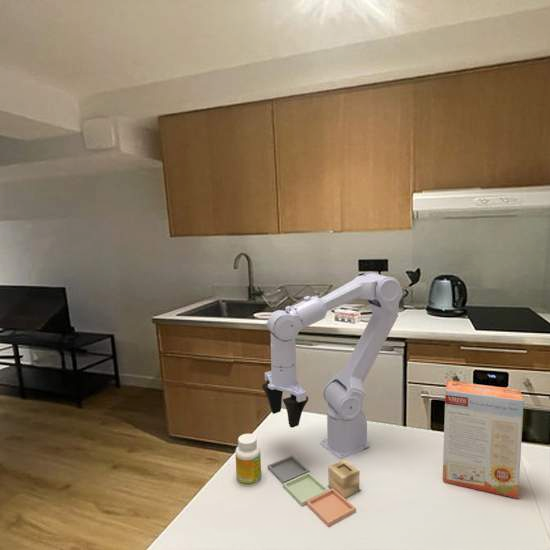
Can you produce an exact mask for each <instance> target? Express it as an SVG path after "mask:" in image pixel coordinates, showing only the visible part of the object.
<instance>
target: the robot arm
mask: <svg viewBox="0 0 550 550" xmlns="http://www.w3.org/2000/svg"><path fill="white" fill-rule="evenodd" d="M403 296H404V291H403V289H402V286H401V283H400V282H399V280H398V279H396V277H392V276H387V275H382V274H378V273H376V272H373V271H367V272H365V273H364V274H362V275H358V276H356V277H355V278H353V280H351V281H349V282H347V283H345V284H343V285H342V286H339V287H338V288H336V289H334V290H332V291H330V292H329V293H327V294H325V295H323V296H322V297H318V296H309V295H306V296H304V297H303V300H302V301H299V302H298V303H296V304H293V305H291V306H290V305H287V306H285V310H284V309H282V310H280V309H279V310H278V309H277V310H275V311H273V312H272V313H271V314H270V316H269V317H268V319H267V322H266V327H267V329H268V331H269V332H270V368H271V369H270V370H269V371H265V372H264V381H266V382H265V383H264V384H262V386H261V388H262V389H263V391H264V392H265V395H266V398H267V400H268V403H269V406H270V410H271V414H273V415H274V414H277V413H281V411H282V402H283V404H284V405H285V409H286V412H287V421H288V425H289V428H291V429H292V428H295V427H298V426H300V425H299V424H300V421H301V416H302V414H303V412H304V411H303V410H304V408H305V406H306V405H307V403H308V401H309V396H307V391H305V390H304V389H303V387H302V386H301V384H300V383H299V381H298V380H297V352H296V351H297V345H296V337H297V336H298V334H299V333H300V332H301V331H302V330H304V329H305V328H308V327H310V326H311V325H314V324H315V323H318V322H320V321H322V320H323V319H325V318H326V316H327V313H328V311H331V310H332V309H336V308H338V307H340V306H343V305H344V304H347V303H351V301H354V300H356V299H360V300H361V299H362V300H365V301H366V302H367V303H368V305H369V308H370V311H371V313H372V316H371V317H370V318H369V320H368V322H367V325H366V327H365V328H364V330H363V332H362V334H361V336H360V338H359V340H358V342H357V343H356V345H355V348H354V350H353V351H352V353H351V355H350V357H349V358H348V361H347V362H346V365H345V366H344V368H343V370H341V371H339V372H336V373H335V374H334V375H333V377H332V378H331V380H330V381H329V382H327V383H326V384H325V385H324V387H323V391H322V394H323V395H322V396H323V400H324V401H326V403H327V408H326V413H327V414H326V415H327V416H326V424H327V425H326V428H327V432H326V434H327V435H326V436H327V437H326V439H324V440H321V441H320V442H319V444H320V445H321V446H322V447H323V448H325V449H326V450H327V451H329V452H330V453H332V454H333V455H334V456H335V457H337V458H338V459H339V460H342V459H343V460H344V458H347V457H349V456H351V455H353V454H356V453H359V452H360V451H363V450H364V449H367V448H370V444H369V443H368V438H367V437H368V422H367V417H366V414H365V413H364V411H363V409H362V408H363V401H364V398H365V397H366V390H365V385H364V384H365V380H366V378H367V376H368V374H369V373H370V371H371V368H372V367H373V365H374V363H375V361H376V359H377V358H378V355H379V353H380V352H381V350H382V347H383V346H384V344H385V342H386V340H387V338H388V336H389V334H390V332H391V330H392V328H393V326H395V325H394V324H395V323H396V321H397V319H398V316H399V306H400V301H401V299H402V298H403ZM283 393H287V394H289V395H290V396H289V397H286V398H283Z"/></svg>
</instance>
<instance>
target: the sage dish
mask: <svg viewBox="0 0 550 550" xmlns="http://www.w3.org/2000/svg"><path fill="white" fill-rule="evenodd" d="M282 488H283V489H284V490H285V492H287V493H288V494H289V495H290V496H291V497H292V499H293V500H294V501H295V502H297V503H298V505H300V507H304V506H307V505H306V501H308V500H310V499H312V498H314V497H316V496H318V495H320V494H322V493H324V492H326V491H328V490H330V488H328V487H326V486H325V485H324V484H323V483H322V482H321V481H320V480H319V479H318V478H316V477H315V476H314V475H313V474H312V473H311V472H310V473H309V472H308V473H306V474H304V475H301V476H299V477H297V478H295V479H292V480H290V481H288V482H286V483H283V484H282Z"/></svg>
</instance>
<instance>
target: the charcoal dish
mask: <svg viewBox="0 0 550 550" xmlns="http://www.w3.org/2000/svg"><path fill="white" fill-rule="evenodd" d="M266 467H267V470H268V471H269V472H270V473H271V474H272V475H273V476H274V477H275V478H276V479H277V480H278V481H279V483H281V484H282V485H283V483H286V482H288V481H290V480H292V479H295V478H297V477H299V476H301V475H304V474H306V473H308V472H309V473H310V474H311V471H310V469H309V468H307V467H306V466H305V465H304V464H303V463H302V462H301V461H299V460H298V459H297V458H296V457H295V456H294V455H290V456H287V457H284V458H282V459H280V460H279V459H278V460H277V461H274V462H272V463H270V464H268V465H267V466H266Z"/></svg>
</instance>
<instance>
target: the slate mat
mask: <svg viewBox="0 0 550 550" xmlns="http://www.w3.org/2000/svg"><path fill="white" fill-rule="evenodd" d="M326 488H328V489H329V490H330V489H331V488H330V487H329V484H328V485H327V487H326ZM361 491H362V490H361V489H360V488H359V491H357V492H356V493H354V494H352V495H350V496H348V497H346V498H345V499H346V500H347V499H348V498H351V497H352V496H354V495H356V494H357V493H360V492H361Z"/></svg>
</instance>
